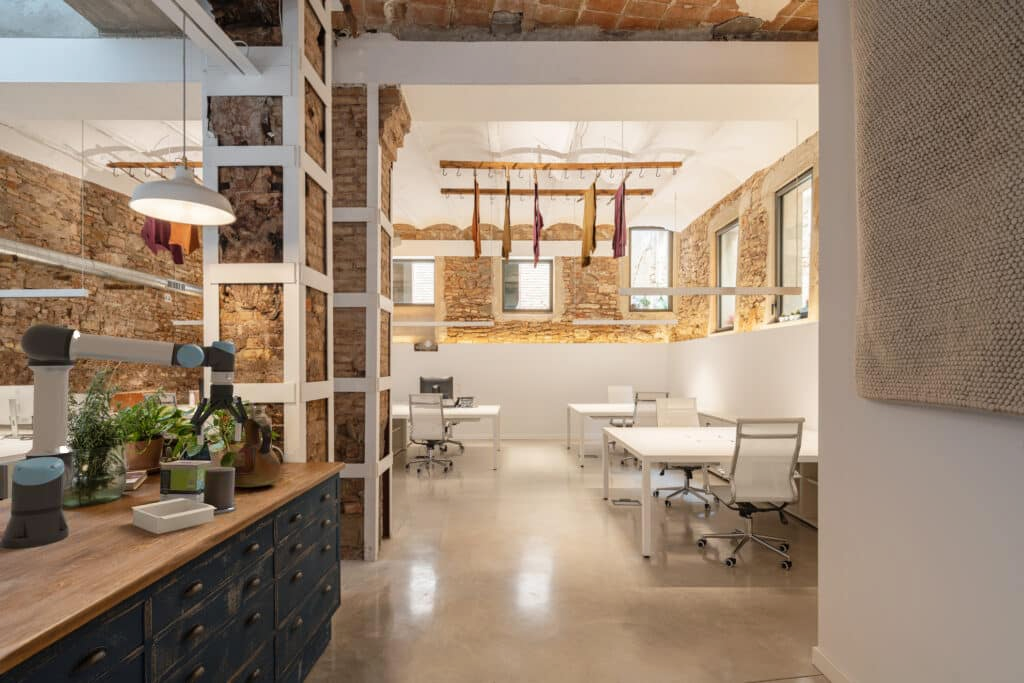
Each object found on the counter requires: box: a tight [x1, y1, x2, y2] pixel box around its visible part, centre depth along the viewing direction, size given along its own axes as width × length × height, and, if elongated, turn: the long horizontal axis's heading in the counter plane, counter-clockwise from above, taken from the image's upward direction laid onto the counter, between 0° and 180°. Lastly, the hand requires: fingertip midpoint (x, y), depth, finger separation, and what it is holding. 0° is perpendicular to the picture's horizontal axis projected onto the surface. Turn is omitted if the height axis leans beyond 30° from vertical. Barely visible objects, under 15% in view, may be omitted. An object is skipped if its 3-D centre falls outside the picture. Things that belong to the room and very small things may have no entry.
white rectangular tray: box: [130, 498, 217, 535], centre depth 184 cm, size 17×23×5 cm
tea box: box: [159, 460, 214, 503], centre depth 213 cm, size 15×10×15 cm, turn 84°
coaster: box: [214, 503, 238, 516], centre depth 200 cm, size 12×12×1 cm
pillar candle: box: [202, 465, 235, 511], centre depth 200 cm, size 10×10×15 cm
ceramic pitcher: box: [230, 416, 282, 488], centre depth 238 cm, size 20×20×30 cm
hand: (219, 442), depth 201 cm, fingers open, 13 cm apart
